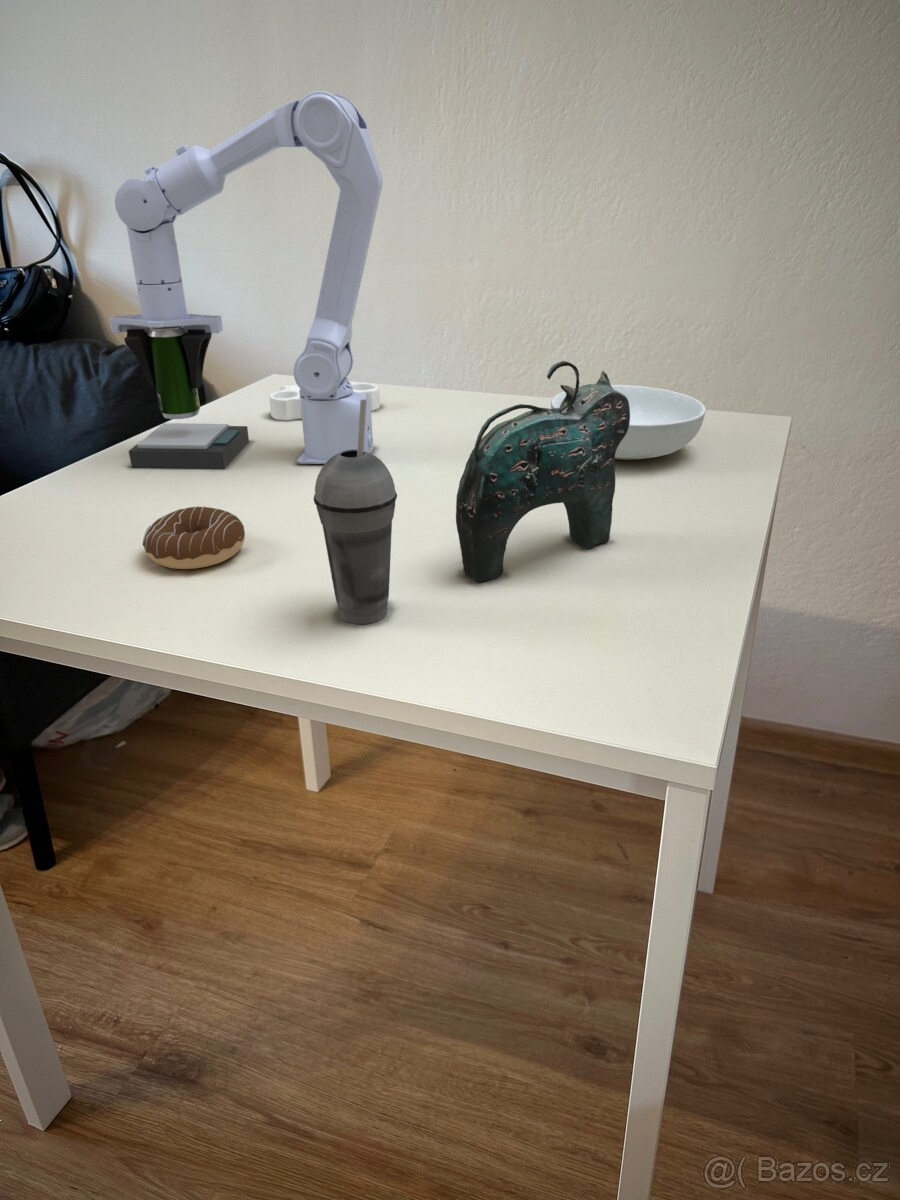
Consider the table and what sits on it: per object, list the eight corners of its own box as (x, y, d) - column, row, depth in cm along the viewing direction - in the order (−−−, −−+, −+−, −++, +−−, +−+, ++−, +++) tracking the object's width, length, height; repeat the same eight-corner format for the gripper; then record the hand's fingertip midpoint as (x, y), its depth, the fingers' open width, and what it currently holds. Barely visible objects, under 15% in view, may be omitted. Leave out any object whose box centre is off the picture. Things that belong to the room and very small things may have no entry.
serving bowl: (693, 482, 110) (700, 430, 107) (533, 467, 116) (535, 416, 113) (704, 435, 127) (711, 389, 124) (565, 424, 133) (567, 379, 130)
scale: (249, 441, 127) (246, 421, 126) (224, 469, 117) (221, 447, 115) (163, 440, 128) (160, 421, 127) (131, 467, 118) (127, 446, 116)
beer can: (167, 422, 116) (152, 330, 111) (155, 413, 120) (140, 324, 115) (206, 415, 119) (193, 326, 113) (193, 407, 123) (180, 320, 117)
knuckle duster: (364, 392, 151) (389, 414, 139) (262, 403, 146) (278, 426, 134) (363, 373, 150) (388, 393, 138) (260, 383, 144) (275, 405, 132)
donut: (268, 550, 93) (263, 516, 91) (184, 585, 86) (178, 548, 84) (208, 526, 99) (203, 493, 97) (126, 556, 92) (119, 522, 90)
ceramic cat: (592, 525, 98) (606, 346, 88) (633, 545, 93) (651, 357, 84) (447, 569, 88) (444, 373, 79) (484, 593, 83) (486, 388, 74)
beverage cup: (325, 596, 83) (307, 390, 74) (400, 592, 84) (391, 387, 75) (322, 633, 77) (301, 414, 68) (403, 629, 78) (394, 410, 68)
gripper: (91, 286, 109) (112, 393, 115) (203, 286, 107) (218, 394, 114) (115, 278, 115) (133, 380, 121) (221, 278, 114) (234, 381, 120)
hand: (176, 386), depth 118 cm, fingers closed on beer can, 5 cm apart
